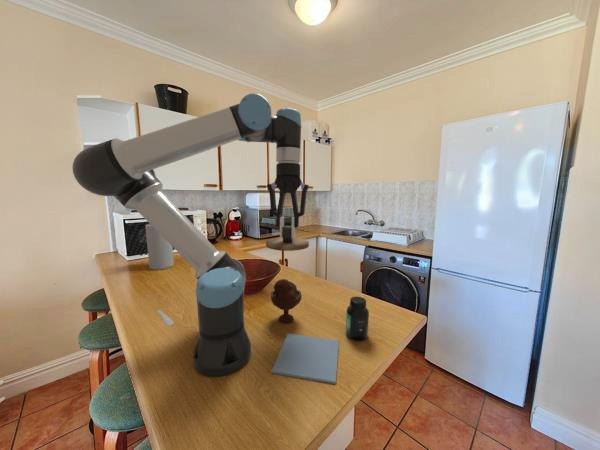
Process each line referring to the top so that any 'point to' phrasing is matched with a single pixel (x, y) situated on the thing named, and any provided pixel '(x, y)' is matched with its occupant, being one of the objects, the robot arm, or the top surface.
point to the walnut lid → (287, 241)
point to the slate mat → (308, 358)
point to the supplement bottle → (357, 319)
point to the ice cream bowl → (285, 298)
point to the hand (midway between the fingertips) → (287, 236)
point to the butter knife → (165, 318)
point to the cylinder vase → (158, 250)
